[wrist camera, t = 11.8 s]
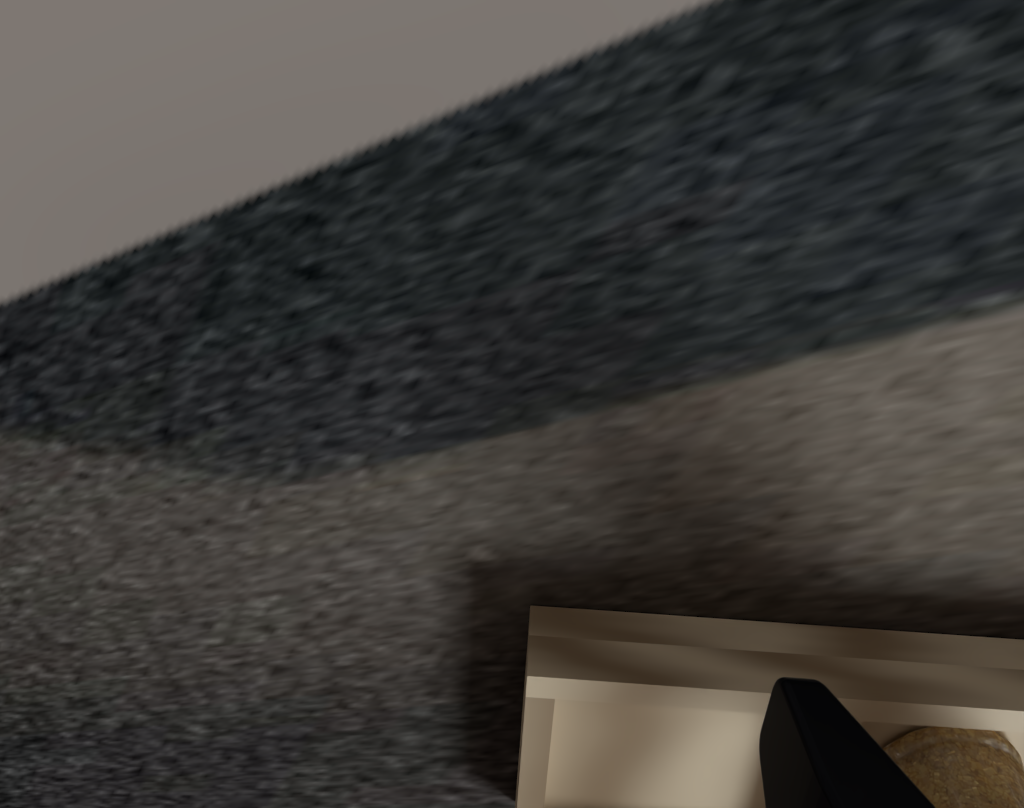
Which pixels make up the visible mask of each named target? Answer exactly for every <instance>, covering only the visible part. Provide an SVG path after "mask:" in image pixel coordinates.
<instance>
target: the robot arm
mask: <svg viewBox="0 0 1024 808" xmlns="http://www.w3.org/2000/svg"><path fill="white" fill-rule="evenodd" d="M759 757H760V765H761V774H762V782H763V790H764V799H765V807H766V808H936V807H935V806H934V805H933V804H932V803H931V802H930V801H929V799H928V798H927V797H926V796H925V795H924V794H923V793H922V792H921V791H920V790H919V788H918V787H917V786H916V785H915V784H914V783H913V782H912V781H911V780H910V778H909V777H908V776H907V775H906V774H905V773H904V772H903V771H902V770H901V769H900V767H899V766H898V765H897V764H896V763H895V762H894V761H893V760H892V759H891V757H890V756H889V755H888V754H887V753H886V752H885V751H884V750H883V749H882V747H881V746H880V745H879V744H878V743H877V742H876V741H875V740H874V739H873V738H872V736H871V735H870V734H869V733H868V732H867V731H866V730H865V729H864V728H863V726H862V725H861V724H860V723H859V722H858V721H857V720H856V719H855V718H854V717H853V715H852V714H851V713H850V712H849V711H848V710H847V709H846V708H845V707H844V705H843V704H842V703H841V702H840V701H839V700H838V699H837V698H836V697H835V696H834V694H833V693H832V692H831V691H830V690H829V689H828V688H827V687H826V686H825V685H824V684H823V683H821V682H820V681H818V680H815V679H805V678H792V677H782V678H779V679H777V681H776V682H775V684H774V686H773V689H772V692H771V696H770V699H769V703H768V706H767V710H766V714H765V717H764V721H763V724H762V728H761V732H760V738H759Z"/></svg>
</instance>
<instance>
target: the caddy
mask: <svg viewBox="0 0 1024 808" xmlns="http://www.w3.org/2000/svg"><path fill="white" fill-rule="evenodd" d="M782 677H792V678H805V679H815V680H818V681H820V682H821V683H823V684H824V685H825V686H826V687H827V688H828V689H829V690H830V691H831V692H832V693H833V694H834V696H835V697H836V698H837V699H838V700H839V701H840V702H841V703H842V704H843V705H844V707H845V708H846V709H847V710H848V711H849V712H850V713H851V714H852V715H853V717H854V718H855V719H856V720H857V721H858V722H859V723H860V724H861V725H862V726H863V728H864V729H865V730H866V731H867V732H868V733H869V734H870V735H871V736H872V738H873V739H874V740H875V741H876V742H877V743H878V744H879V745H880V746H881V747H882V749H883V748H884V747H885V746H887V745H889V744H890V743H892V742H894V741H896V740H897V739H899V738H901V737H903V736H904V735H906V734H908V733H911V732H913V731H916V730H920V729H924V728H928V727H933V726H937V727H951V728H965V729H979V730H991V731H994V732H995V733H997V734H999V735H1000V736H1002V737H1003V738H1005V739H1006V740H1007V741H1009V742H1010V743H1011V744H1012V745H1013V746H1014V747H1015V749H1016V750H1017V751H1018V753H1019V754H1020V756H1021V759H1022V763H1023V766H1024V640H1020V639H1006V638H991V637H977V636H963V635H948V634H934V633H920V632H905V631H891V630H877V629H862V628H848V627H834V626H819V625H805V624H790V623H776V622H762V621H747V620H733V619H719V618H704V617H690V616H675V615H661V614H647V613H632V612H618V611H604V610H589V609H575V608H561V607H546V606H532V605H530V616H529V629H528V642H527V655H526V669H525V682H524V695H523V708H522V721H521V734H520V747H519V760H518V774H517V787H516V800H515V808H766V807H765V799H764V790H763V782H762V774H761V765H760V757H759V738H760V732H761V728H762V724H763V721H764V717H765V714H766V710H767V706H768V703H769V699H770V696H771V692H772V689H773V686H774V684H775V682H776V681H777V679H779V678H782Z"/></svg>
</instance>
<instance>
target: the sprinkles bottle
mask: <svg viewBox="0 0 1024 808" xmlns="http://www.w3.org/2000/svg"><path fill="white" fill-rule="evenodd" d="M883 750H884V751H885V752H886V753H887V754H888V755H889V756H890V757H891V759H892V760H893V761H894V762H895V763H896V764H897V765H898V766H899V767H900V769H901V770H902V771H903V772H904V773H905V774H906V775H907V776H908V777H909V778H910V780H911V781H912V782H913V783H914V784H915V785H916V786H917V787H918V788H919V790H920V791H921V792H922V793H923V794H924V795H925V796H926V797H927V798H928V799H929V801H930V802H931V803H932V804H933V805H934V806H935V807H936V808H1024V766H1023V763H1022V759H1021V756H1020V754H1019V753H1018V751H1017V750H1016V749H1015V747H1014V746H1013V745H1012V744H1011V743H1010V742H1009V741H1007V740H1006V739H1005V738H1003V737H1002V736H1000V735H999V734H997V733H995V732H994V731H991V730H979V729H965V728H951V727H937V726H933V727H928V728H924V729H920V730H916V731H913V732H911V733H908V734H906V735H904V736H903V737H901V738H899V739H897V740H896V741H894V742H892V743H890V744H889V745H887V746H885V747H884V748H883Z"/></svg>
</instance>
